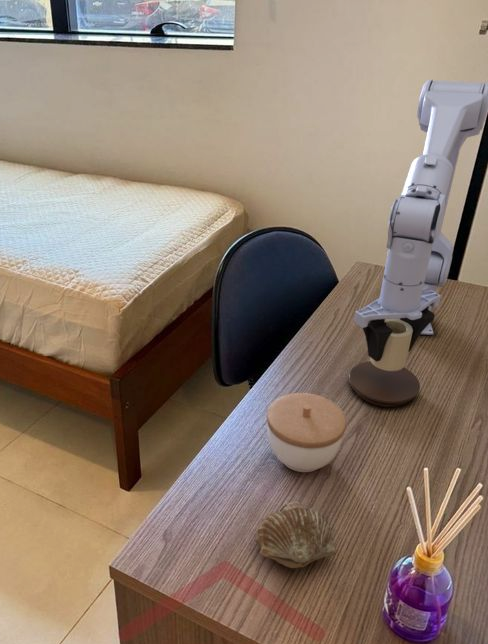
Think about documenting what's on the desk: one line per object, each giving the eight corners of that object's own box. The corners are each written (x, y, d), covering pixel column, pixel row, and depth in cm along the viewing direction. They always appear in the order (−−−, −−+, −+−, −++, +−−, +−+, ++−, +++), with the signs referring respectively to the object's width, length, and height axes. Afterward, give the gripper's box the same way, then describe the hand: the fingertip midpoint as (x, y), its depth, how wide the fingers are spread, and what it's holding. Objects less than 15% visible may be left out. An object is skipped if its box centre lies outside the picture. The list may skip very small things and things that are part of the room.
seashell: (337, 582, 70) (320, 523, 77) (349, 547, 66) (330, 488, 72) (258, 583, 70) (248, 525, 76) (265, 548, 66) (254, 490, 72)
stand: (345, 367, 105) (347, 358, 104) (412, 372, 103) (414, 363, 101) (349, 407, 96) (351, 397, 95) (422, 414, 94) (425, 404, 92)
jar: (368, 351, 99) (374, 317, 95) (402, 353, 98) (409, 319, 94) (371, 369, 94) (378, 335, 91) (407, 372, 93) (415, 337, 90)
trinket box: (335, 492, 81) (343, 440, 76) (257, 474, 84) (260, 424, 79) (343, 440, 89) (351, 390, 84) (271, 426, 93) (275, 377, 88)
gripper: (382, 300, 83) (368, 378, 90) (463, 277, 87) (443, 354, 94) (350, 279, 88) (339, 354, 95) (427, 259, 93) (411, 333, 100)
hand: (389, 353), depth 95 cm, fingers closed on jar, 5 cm apart
